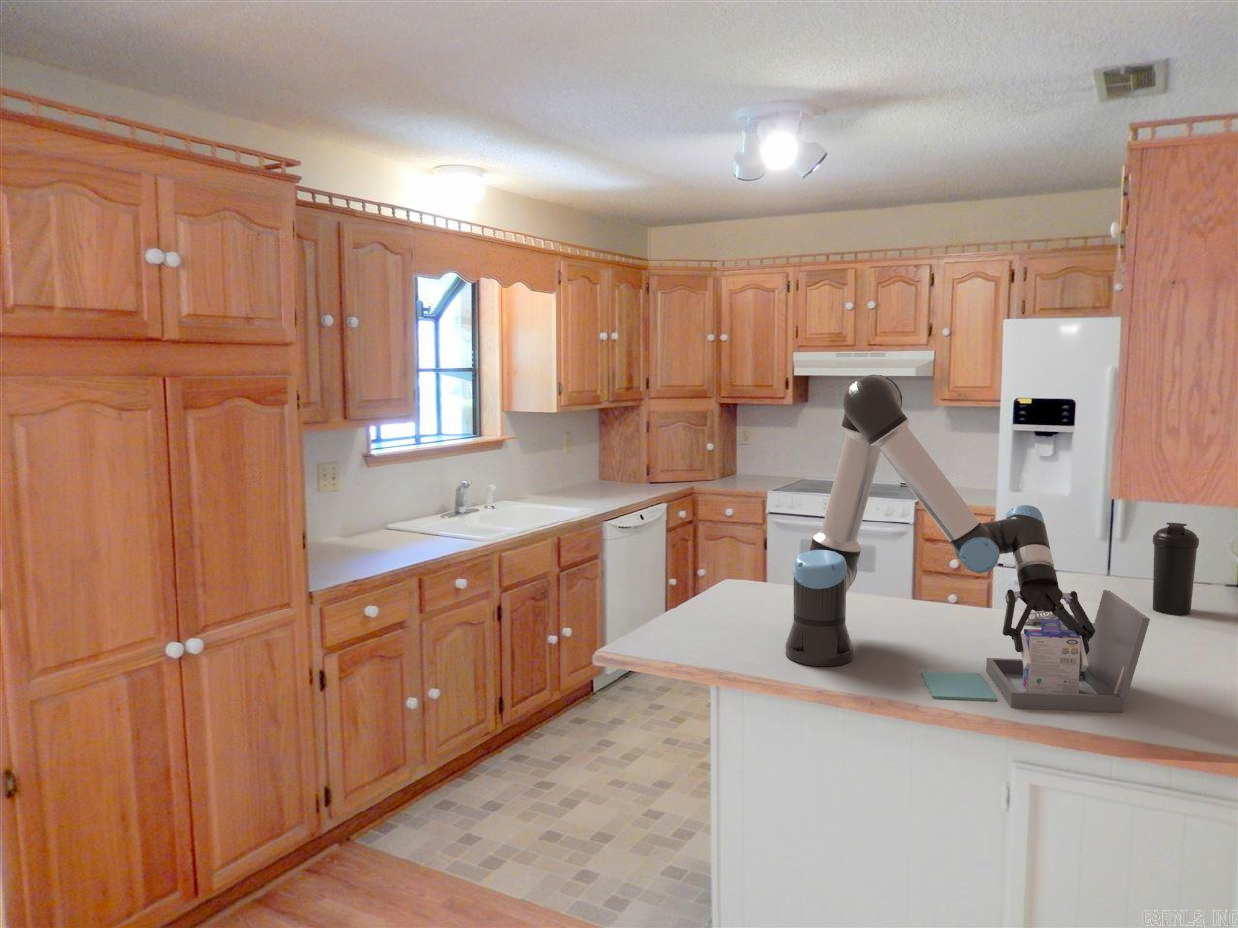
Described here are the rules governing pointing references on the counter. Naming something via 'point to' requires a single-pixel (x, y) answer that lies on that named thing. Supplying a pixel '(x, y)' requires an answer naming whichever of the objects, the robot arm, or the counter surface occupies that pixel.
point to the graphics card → (1051, 616)
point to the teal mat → (957, 686)
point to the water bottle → (1174, 569)
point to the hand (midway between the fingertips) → (1055, 667)
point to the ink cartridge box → (1052, 659)
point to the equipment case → (1106, 659)
